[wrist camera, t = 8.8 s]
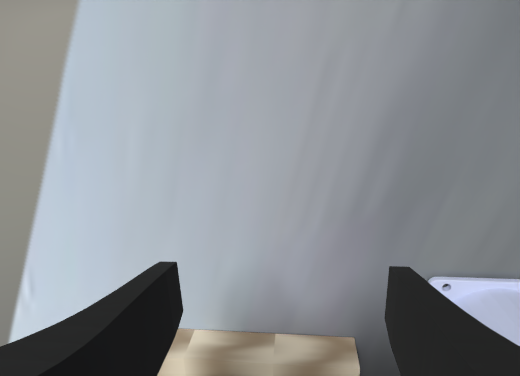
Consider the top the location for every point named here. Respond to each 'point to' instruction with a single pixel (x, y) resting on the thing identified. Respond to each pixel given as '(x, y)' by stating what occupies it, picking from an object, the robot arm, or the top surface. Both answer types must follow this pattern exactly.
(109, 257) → the top surface
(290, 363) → the plate
